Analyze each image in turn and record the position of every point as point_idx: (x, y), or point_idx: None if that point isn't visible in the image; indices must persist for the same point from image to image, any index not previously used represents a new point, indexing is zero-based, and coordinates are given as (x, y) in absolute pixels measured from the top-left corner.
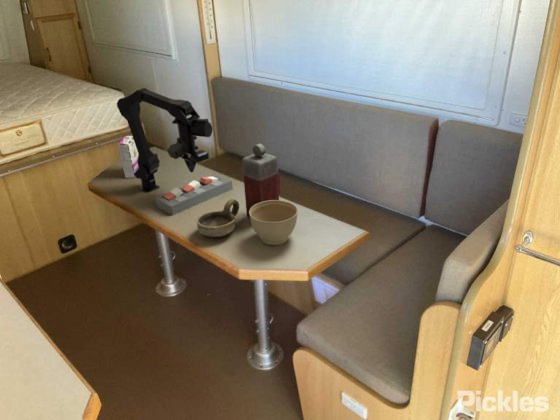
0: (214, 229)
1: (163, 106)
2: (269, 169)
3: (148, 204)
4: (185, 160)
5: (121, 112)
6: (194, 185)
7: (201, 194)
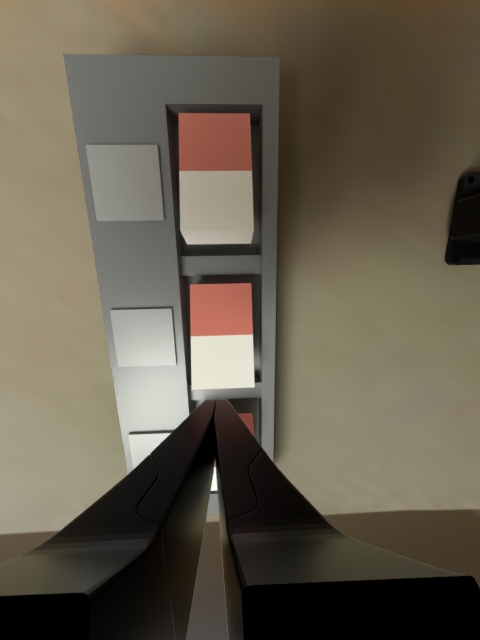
0: None
1: None
2: None
3: (332, 89)
4: (257, 527)
5: None
6: (199, 349)
7: (108, 324)
